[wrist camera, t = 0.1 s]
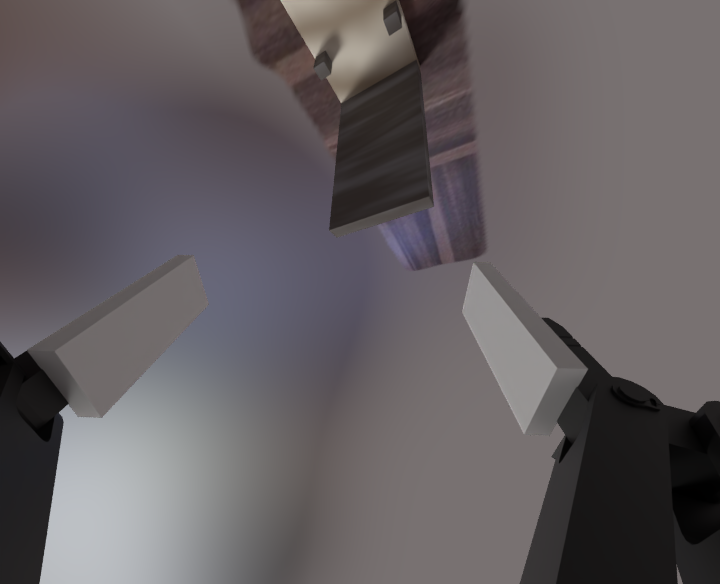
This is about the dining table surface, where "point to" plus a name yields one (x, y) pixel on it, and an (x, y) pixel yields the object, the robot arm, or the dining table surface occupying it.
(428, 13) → the dining table surface
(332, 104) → the dining table surface
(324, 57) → the pegged display stand
